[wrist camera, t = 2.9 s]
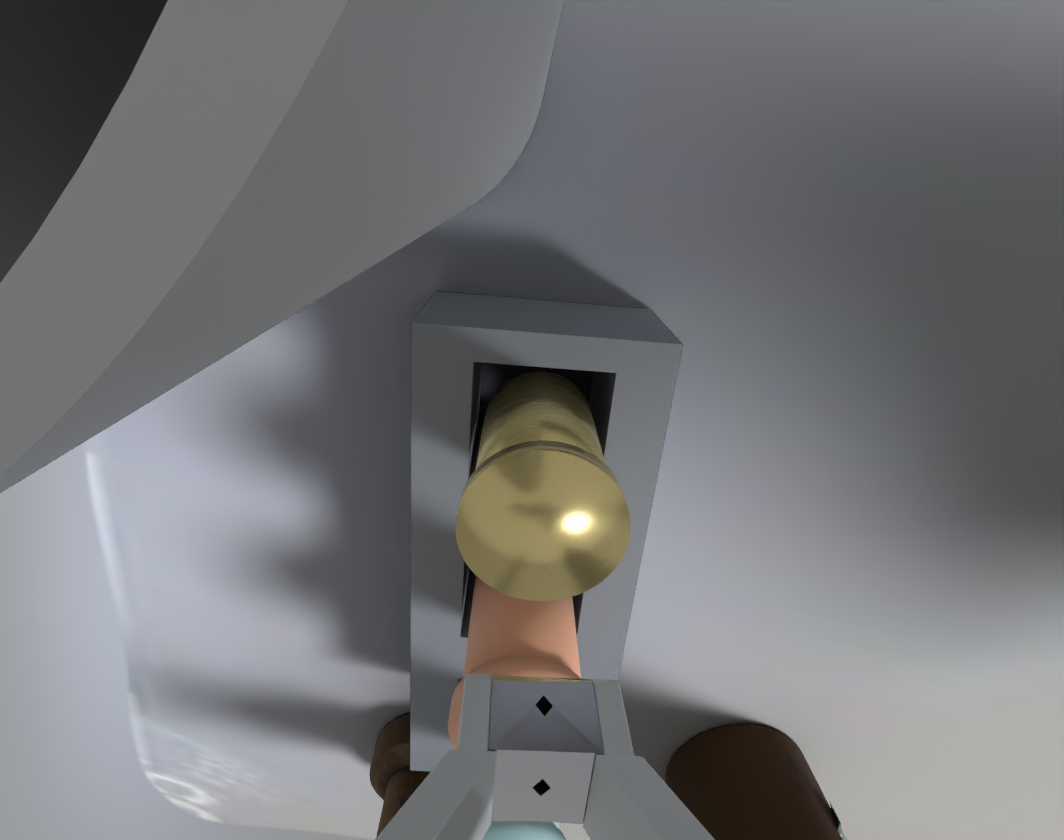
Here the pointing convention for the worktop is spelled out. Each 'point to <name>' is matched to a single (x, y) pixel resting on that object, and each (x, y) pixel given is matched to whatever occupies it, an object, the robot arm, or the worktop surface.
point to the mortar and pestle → (394, 769)
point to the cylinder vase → (225, 177)
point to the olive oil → (751, 786)
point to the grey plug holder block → (451, 456)
